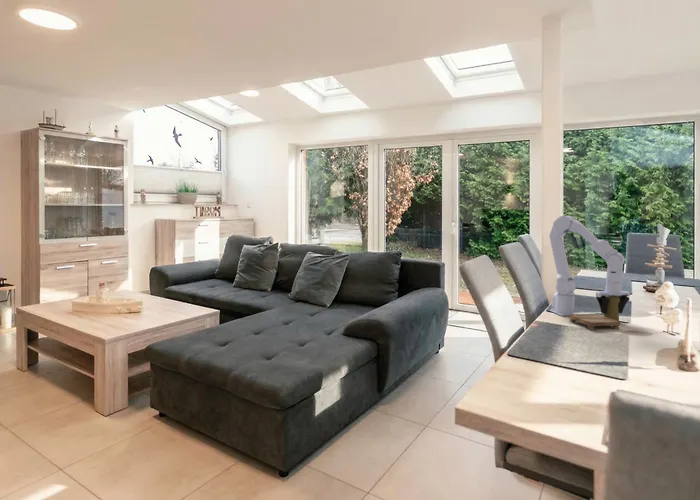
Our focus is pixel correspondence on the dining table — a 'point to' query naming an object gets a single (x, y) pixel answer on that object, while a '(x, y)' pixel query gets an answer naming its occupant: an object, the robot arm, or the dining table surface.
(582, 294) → the dining table surface
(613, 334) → the dining table surface
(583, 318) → the tan square board
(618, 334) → the dining table surface
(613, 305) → the olive bulb-shaped piece
